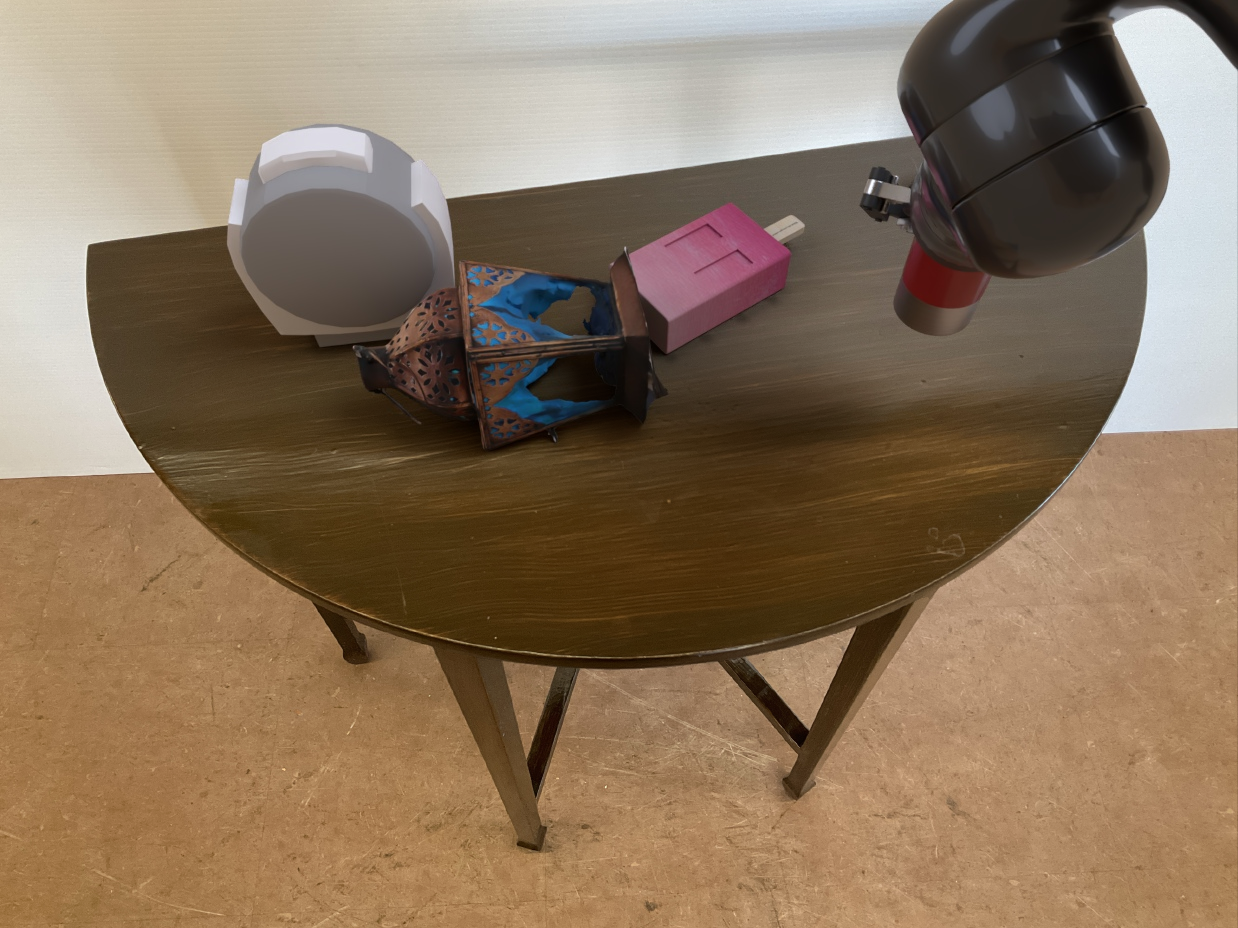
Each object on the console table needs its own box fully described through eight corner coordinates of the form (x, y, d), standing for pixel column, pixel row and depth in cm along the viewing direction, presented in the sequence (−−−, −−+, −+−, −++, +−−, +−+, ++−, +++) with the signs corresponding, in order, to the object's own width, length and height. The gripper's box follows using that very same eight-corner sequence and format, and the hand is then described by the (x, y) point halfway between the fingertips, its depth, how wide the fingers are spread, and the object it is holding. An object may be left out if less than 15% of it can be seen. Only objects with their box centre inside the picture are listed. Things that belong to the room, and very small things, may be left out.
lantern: (642, 409, 84) (385, 444, 81) (626, 240, 80) (353, 270, 77) (681, 447, 69) (365, 492, 65) (664, 240, 65) (324, 277, 61)
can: (989, 312, 66) (1038, 208, 58) (936, 349, 64) (980, 247, 56) (928, 269, 69) (967, 164, 61) (876, 303, 67) (909, 200, 59)
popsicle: (833, 229, 82) (668, 320, 76) (824, 266, 86) (666, 356, 80) (770, 179, 86) (608, 262, 80) (764, 217, 90) (609, 299, 84)
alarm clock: (466, 280, 86) (424, 97, 69) (469, 343, 81) (425, 162, 65) (285, 300, 85) (198, 119, 68) (278, 365, 80) (182, 188, 63)
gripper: (1153, 158, 44) (1085, 204, 60) (877, 97, 47) (881, 155, 63) (1094, 301, 46) (1043, 308, 62) (833, 231, 49) (848, 255, 65)
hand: (961, 230), depth 62 cm, fingers closed on can, 6 cm apart
